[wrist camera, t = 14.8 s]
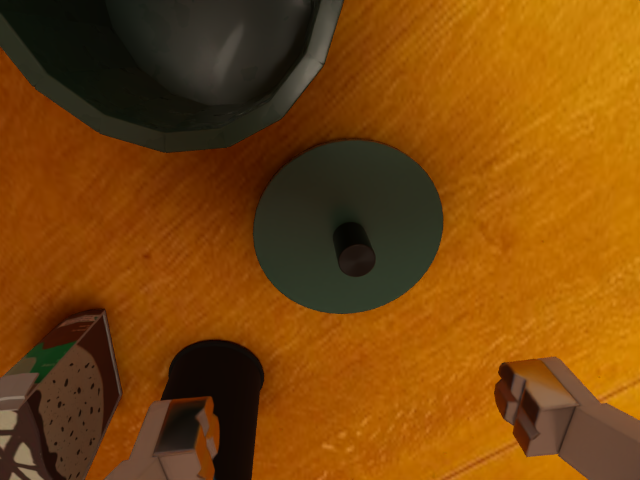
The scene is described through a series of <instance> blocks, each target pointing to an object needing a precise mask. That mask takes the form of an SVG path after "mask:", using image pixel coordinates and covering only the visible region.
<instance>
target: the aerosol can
mask: <svg viewBox="0 0 640 480" xmlns="http://www.w3.org/2000/svg"><path fill="white" fill-rule="evenodd" d="M263 382H264V373H263V369H262V366H261V364H260V362H259V361H258V359H257V358H256V357H255V356H254V355H253V354H252V353H251V352H249V351H248V350H247V349H245V348H243V347H241V346H239V345H236V344H233V343H230V342H224V341H205V342H199V343H196V344H193V345H191V346H189V347H187V348H185V349H183V350H182V351H181V352H180V353H178V354H177V355H176V357H175V358H174V359H173V361H172V363H171V365H170V368H169V379H168V382H167V384H166V387H165V390H164V392H163V395H162V398H161V400H160V401H162V400H173V399H182V398H194V397H205V396H211V397H212V400H213V403H214V408H213V414H215V415H216V416H217V418H218V422H219V429H220V436H219V448H218V453H217V455H216V456H215V457H214V458H213V460H212V462H213V465H214V469H215V472H214V478H213V480H251V478H252V468H253V457H254V447H255V436H256V426H257V415H258V405H259V394H260V390H261V388H262V386H263Z"/></svg>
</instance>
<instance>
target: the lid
mask: <svg viewBox="0 0 640 480" xmlns="http://www.w3.org/2000/svg"><path fill="white" fill-rule="evenodd" d="M442 231H443V212H442V205H441V201H440V198H439V194H438V192H437V190H436V188H435V186H434V183H433V182H432V180H431V179H430V177H429V176H428V174H427V173H426V172H425V171H424V170H423V169H422V168H421V166H420V165H419V164H418V163H416V162H415V161H414V160H413V159H411V158H410V157H409V156H408V155H406V154H405V153H403V152H401V151H400V150H398V149H396V148H394V147H391V146H389V145H387V144H384V143H380V142H376V141H373V140H365V139H341V140H334V141H329V142H326V143H323V144H319V145H316V146H314V147H312V148H310V149H307V150H305V151H303V152H302V153H300V154H298V155H297V156H295V157H293V158H292V159H291V160H290V161H289V162H287V163H286V164H285V165H284V166H282V168H281V169H280V170H279V171H278V172H277V173H276V174H275V175H274V176H273V178H272V179H271V180H270V182H269V183H268V184H267V186H266V188H265V190H264V192H263V194H262V195H261V197H260V200H259V203H258V206H257V209H256V214H255V219H254V226H253V239H254V247H255V251H256V255H257V258H258V261H259V263H260V266H261V268H262V269H263V271H264V273H265V275H266V276H267V278H268V279H269V280H270V281H271V283H272V284H273V285H274V286H275V287H276V288H277V289H278V290H279V291H280V292H281V293H282V294H284V295H285V296H286V297H288V298H289V299H291V300H293V301H294V302H296V303H298V304H300V305H302V306H305V307H307V308H310V309H313V310H317V311H320V312H326V313H336V314H348V313H358V312H364V311H368V310H371V309H375V308H377V307H380V306H383V305H385V304H387V303H389V302H391V301H393V300H395V299H397V298H398V297H400V296H401V295H403V294H404V293H406V292H407V291H408V290H409V289H410V288H412V287H413V286H414V285H415V284H416V283H417V282H418V281H419V280H420V279H421V278H422V276H423V275H424V274H425V272H426V271H427V270H428V268H429V267H430V265H431V263H432V262H433V260H434V258H435V256H436V253H437V251H438V248H439V245H440V242H441V237H442Z"/></svg>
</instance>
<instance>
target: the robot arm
mask: <svg viewBox="0 0 640 480" xmlns="http://www.w3.org/2000/svg"><path fill="white" fill-rule="evenodd" d="M498 373H499V375H500V377H501V378H502V379H501V380H500V381H499V382H498V383H497V384H496V385H495V392H494V395H495V401H496V404H497V407H498V409H499V412H500V413H501V415H502V417H503V418H504V419H505V420H506V421H507V422H509V423H510V424H512V425H513V426H514V428H513V435H514V437H515V438H516V440H517V442H518V443H519V445H520V446H521V448H522V450H523V451H524V453H525V455H526V456H527V457H530V456H541V455H551V454H559V455H558V456H559V457H561V458H562V459H563V460H564V461H566V462H567V463H568V464H570V465H571V466H572V467H573V468H575V469H576V470H577V471H578V472H580V473H581V474H582V475H583V476H585V477H586V478H587V479H589V480H640V421H639V420H637V419H635V418H634V417H632V416H630V415H628V414H626V413H624V412H622V411H620V410H618V409H616V408H615V407H613V406H611V405H609V404H607V403H603V404H601V403H600V402H599V401H598V400H597V399H596V398H595V397H594V396H593V395H592V393H591V392H590V391H589V390H588V389H587V388H586V387H585V386H584V385H583V384H582V383H581V381H580V380H579V379H578V378H577V377H576V376H575V375H574V374H573V373H572V372H571V371H570V370H569V368H568V367H567V366H566V365H565V364H564V363H563V362H562V361H561V360H560V359H558V358H557V357H549V358H540V359H530V360H522V361H514V362H506V363H502V364H501V365H500V367H499V371H498ZM213 408H214V403H213V400H212V397H211V396H205V397H194V398H182V399H173V400H162V401H154V402H153V403H152V404H151V406H150V407H149V409H148V412H147V414H146V417H145V419H144V422H143V425H142V427H141V430H140V432H139V435H138V437H137V440H136V443H135V445H134V448H133V450H132V453H131V455H130V458H129V460H125V461H122V462H121V463H120V464H119V465H118V466H117V467H116V468H115V469H114V470H113V471H112V472H111V473H110V474H109V475H108V476H107V477H106V478H105V479H104V480H213V478H214V472H215V469H214V465H213V462H212V460H213V458H214V457H215V456H216V455H217V453H218V448H219V436H220V429H219V422H218V418H217V416H216V415H215V414H213Z"/></svg>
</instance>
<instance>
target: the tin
mask: <svg viewBox="0 0 640 480" xmlns="http://www.w3.org/2000/svg"><path fill="white" fill-rule="evenodd" d="M343 3H344V0H0V46H1V48H2V49H3V50H4V51H5V53H6V54H7V55H8V56H9V58H10V59H11V60H12V61H13V63H14V64H15V65H16V66H17V68H18V69H19V70H20V71H21V73H22V74H23V75H24V76H25V78H26V79H27V80H28V81H29V83H30V84H31V85H32V86H33V87H35V89H36V90H38V91H39V92H40V93H42V94H43V95H45V96H46V97H48V98H49V99H51V100H52V101H53V102H55V103H56V104H58V105H59V106H61V107H62V108H64V109H65V110H66V111H68V112H69V113H71V114H72V115H74V116H75V117H76V118H78V119H79V120H81V121H82V122H84V123H85V124H87V125H88V126H89V127H91V128H92V129H94V130H95V131H97V132H99V133H100V134H103V135H106V136H109V137H113V138H116V139H120V140H123V141H126V142H130V143H133V144H137V145H140V146H143V147H147V148H150V149H154V150H157V151H160V152H166V153H171V152H183V151H194V150H206V149H218V148H227V147H230V146H232V145H234V144H236V143H238V142H240V141H241V140H243V139H245V138H247V137H249V136H251V135H253V134H254V133H256V132H258V131H260V130H262V129H264V128H266V127H267V126H269V125H271V124H273V123H275V122H277V121H279V120H280V119H282V118H283V117H284V116H285V114H286V113H287V112H288V111H289V109H290V108H291V107H292V106H293V104H294V103H295V102H296V101H297V99H298V98H299V97H300V95H301V94H302V93H303V92H304V90H305V89H306V88H307V87H308V85H309V84H310V83H311V82H312V80H313V79H314V78H315V76H316V75H317V74H318V73H319V71H320V70H321V69H322V68H323V66H324V64H325V61H326V58H327V55H328V51H329V48H330V45H331V42H332V38H333V35H334V32H335V29H336V25H337V22H338V19H339V16H340V12H341V9H342V6H343Z"/></svg>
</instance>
